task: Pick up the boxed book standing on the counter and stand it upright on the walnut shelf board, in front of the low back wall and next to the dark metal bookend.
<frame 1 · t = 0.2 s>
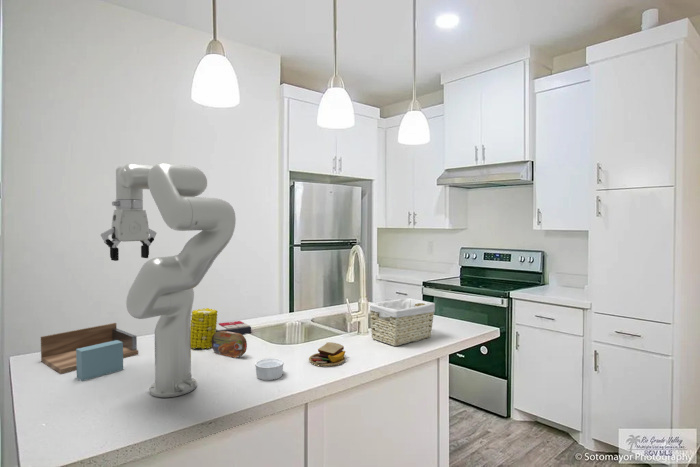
hand: (130, 259, 134), 36 cm above the counter, tool pointing down, fingers open, 9 cm apart
toy sandwich meal: (327, 361, 146), on the counter
ramekin: (269, 376, 131), on the counter
book: (100, 373, 132), on the counter
food: (203, 346, 160), on the counter
tin: (229, 355, 150), on the counter
red white box: (229, 334, 178), on the counter
shelf: (91, 357, 146), on the counter
storage basket: (402, 339, 172), on the counter
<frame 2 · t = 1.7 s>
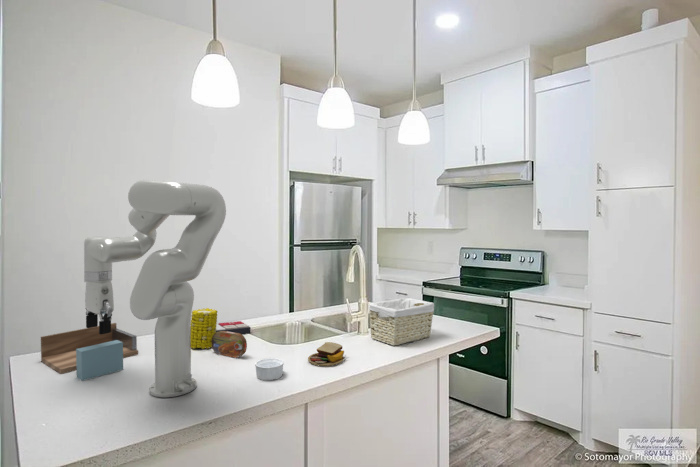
hand: (98, 330, 132), 14 cm above the counter, tool pointing down, fingers open, 9 cm apart
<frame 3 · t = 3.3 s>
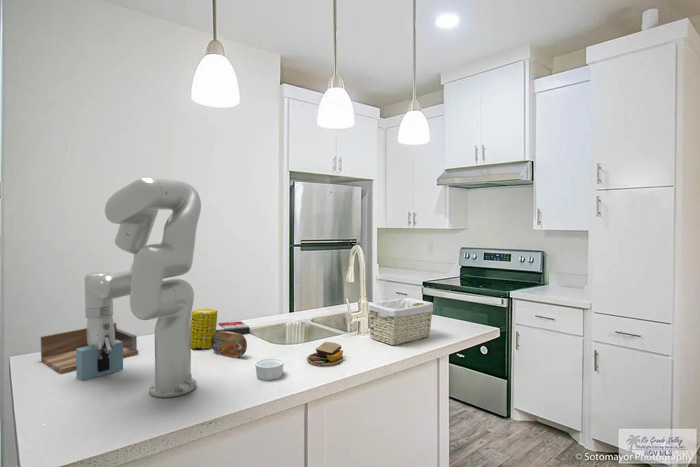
hand: (100, 368, 132), 2 cm above the counter, tool pointing down, fingers closed on book, 4 cm apart
book: (100, 373, 132), on the counter, touching gripper
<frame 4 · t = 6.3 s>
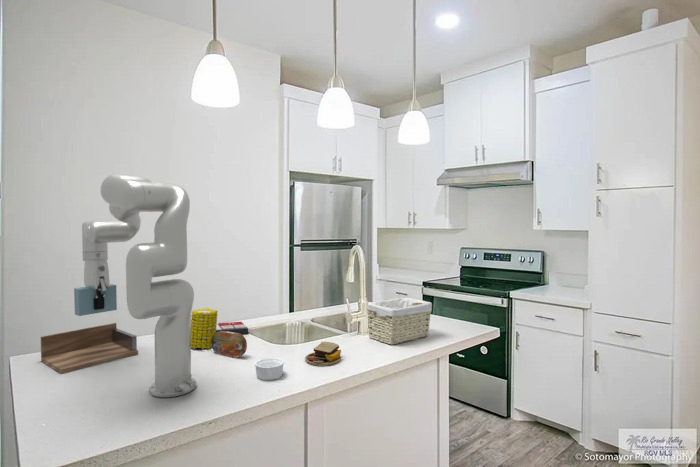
hand: (96, 307, 147), 17 cm above the counter, tool pointing down, fingers closed on book, 4 cm apart
book: (96, 312, 147), point 16 cm above the counter, touching gripper
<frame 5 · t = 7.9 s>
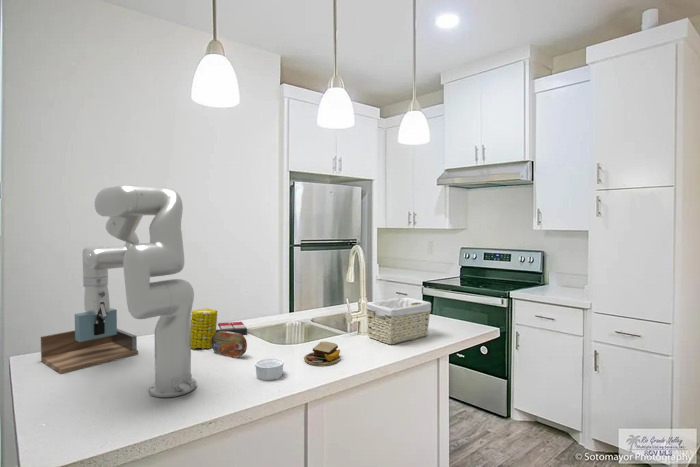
hand: (96, 332, 148), 8 cm above the counter, tool pointing down, fingers closed on book, 4 cm apart
book: (96, 336, 148), point 7 cm above the counter, touching gripper
when the fingers open (5 cm above the counter, at t = 9.4 s): book drops 2 cm, resting on shelf.
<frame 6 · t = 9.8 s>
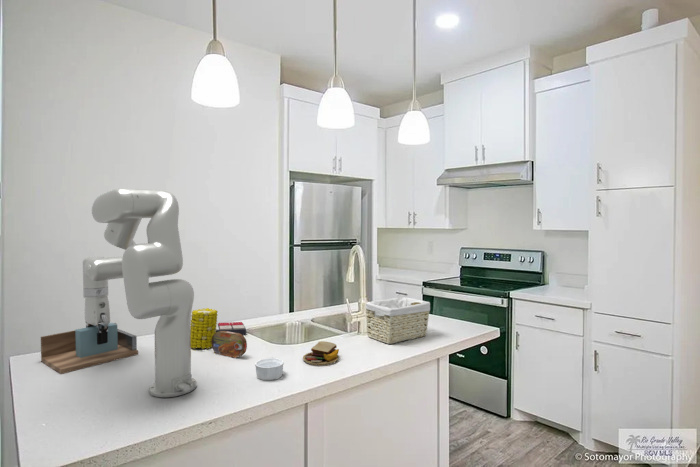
hand: (96, 340, 148), 5 cm above the counter, tool pointing down, fingers open, 8 cm apart
book: (97, 352, 148), point 1 cm above the counter, touching shelf
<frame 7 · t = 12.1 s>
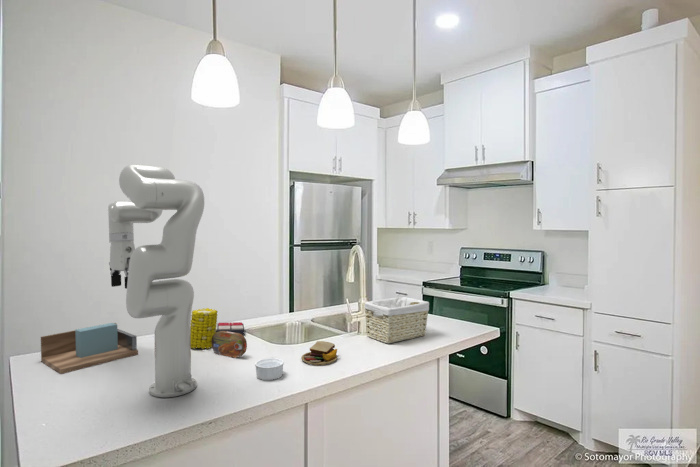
hand: (123, 287, 146), 25 cm above the counter, tool pointing down, fingers open, 9 cm apart
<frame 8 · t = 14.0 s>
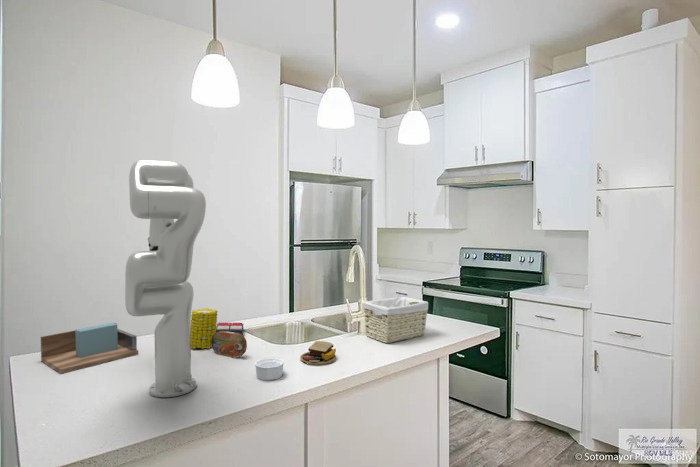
hand: (162, 263, 146), 33 cm above the counter, tool pointing down, fingers open, 9 cm apart
at the end: book inside the target area on the shelf (0.3 cm from its centre), point 1.5 cm above the shelf's base; book tilted 0°; the gripper is holding nothing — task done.
